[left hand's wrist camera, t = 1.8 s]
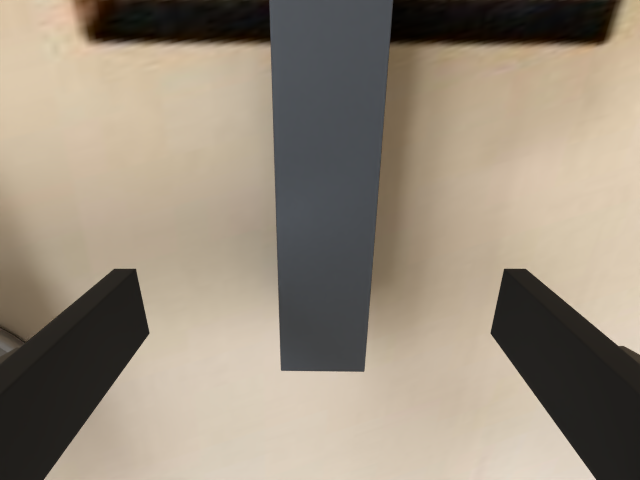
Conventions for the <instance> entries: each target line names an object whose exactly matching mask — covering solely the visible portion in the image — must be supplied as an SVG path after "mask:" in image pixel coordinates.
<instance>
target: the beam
mask: <svg viewBox="0 0 640 480" xmlns="http://www.w3.org/2000/svg"><path fill="white" fill-rule="evenodd" d="M269 3H270V35H271V67H272V99H273V131H274V163H275V195H276V227H277V259H278V291H279V323H280V355H281V371H355V372H364V369H365V356H366V343H367V331H368V318H369V305H370V292H371V279H372V266H373V253H374V240H375V227H376V214H377V201H378V188H379V176H380V163H381V150H382V137H383V124H384V111H385V98H386V85H387V72H388V59H389V46H390V33H391V20H392V8H393V0H269Z"/></svg>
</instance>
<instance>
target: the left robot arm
mask: <svg viewBox="0 0 640 480" xmlns="http://www.w3.org/2000/svg"><path fill="white" fill-rule="evenodd" d="M148 335H149V329H148V324H147V319H146V315H145V310H144V305H143V300H142V296H141V291H140V286H139V282H138V277H137V272H136V269H114V270H112V271H111V272H110V273H109V274H108V275H106V276H105V277H104V278H103V279H102V280H100V281H99V282H98V283H97V284H96V285H94V286H93V287H92V288H91V289H90V290H88V291H87V292H86V293H85V294H84V295H82V296H81V297H80V298H79V299H78V300H76V301H75V302H74V303H73V304H72V305H70V306H69V307H68V308H67V309H66V310H64V311H63V312H62V313H61V314H60V315H58V316H57V317H56V318H55V319H54V320H52V321H51V322H50V323H49V324H48V325H46V326H45V327H44V328H43V329H42V330H40V331H39V332H38V333H37V334H36V335H34V336H33V337H32V338H31V339H30V340H28V341H27V342H26V343H24V342H23V341H21V340H20V339H18V338H17V337H15V336H14V335H12V334H11V333H9V332H7V331H5V330H3V329H1V328H0V480H44V479H45V477H46V476H47V474H48V473H49V472H50V470H51V469H52V467H53V466H54V465H55V463H56V462H57V461H58V459H59V458H60V456H61V455H62V454H63V452H64V451H65V450H66V448H67V447H68V445H69V444H70V443H71V441H72V440H73V438H74V437H75V436H76V434H77V433H78V432H79V430H80V429H81V427H82V426H83V425H84V423H85V422H86V420H87V419H88V418H89V416H90V415H91V414H92V412H93V411H94V409H95V408H96V407H97V405H98V404H99V402H100V401H101V400H102V398H103V397H104V396H105V394H106V393H107V391H108V390H109V389H110V387H111V386H112V384H113V383H114V382H115V380H116V379H117V378H118V376H119V375H120V373H121V372H122V371H123V369H124V368H125V366H126V365H127V364H128V362H129V361H130V360H131V358H132V357H133V355H134V354H135V353H136V351H137V350H138V349H139V347H140V346H141V344H142V343H143V342H144V340H145V339H146V337H147V336H148ZM491 335H492V336H493V337H494V339H495V340H496V342H497V343H498V344H499V346H500V347H501V349H502V350H503V351H504V353H505V354H506V355H507V357H508V358H509V360H510V361H511V362H512V364H513V365H514V366H515V368H516V369H517V371H518V372H519V373H520V375H521V376H522V378H523V379H524V380H525V382H526V383H527V384H528V386H529V387H530V389H531V390H532V391H533V393H534V394H535V396H536V397H537V398H538V400H539V401H540V402H541V404H542V405H543V407H544V408H545V409H546V411H547V412H548V414H549V415H550V416H551V418H552V419H553V420H554V422H555V423H556V425H557V426H558V427H559V429H560V430H561V432H562V433H563V434H564V436H565V437H566V438H567V440H568V441H569V443H570V444H571V445H572V447H573V448H574V450H575V451H576V452H577V454H578V455H579V456H580V458H581V459H582V461H583V462H584V463H585V465H586V466H587V467H588V469H589V470H590V472H591V473H592V474H593V476H594V477H595V479H596V480H640V355H639V354H637V353H635V352H633V351H632V350H630V349H628V348H626V347H624V346H618V345H616V344H615V343H614V342H613V341H612V340H610V339H609V338H608V337H607V336H606V335H604V334H603V333H602V332H601V331H600V330H598V329H597V328H596V327H595V326H594V325H592V324H591V323H590V322H589V321H588V320H586V319H585V318H584V317H583V316H582V315H580V314H579V313H578V312H577V311H576V310H574V309H573V308H572V307H571V306H570V305H568V304H567V303H566V302H565V301H564V300H562V299H561V298H560V297H559V296H558V295H556V294H555V293H554V292H553V291H552V290H550V289H549V288H548V287H547V286H546V285H544V284H543V283H542V282H541V281H540V280H538V279H537V278H536V277H535V276H534V275H532V274H531V273H530V272H529V271H528V270H526V269H504V272H503V277H502V282H501V286H500V291H499V296H498V300H497V305H496V310H495V315H494V319H493V324H492V329H491Z"/></svg>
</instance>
